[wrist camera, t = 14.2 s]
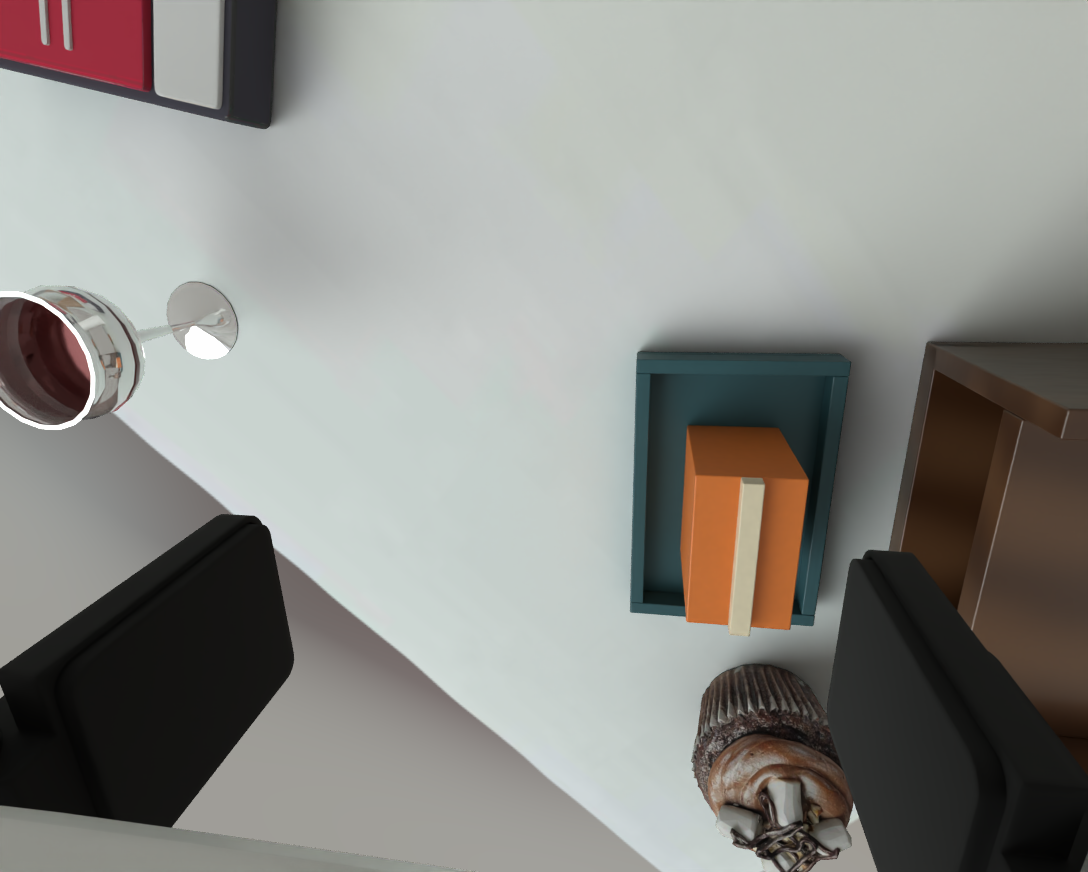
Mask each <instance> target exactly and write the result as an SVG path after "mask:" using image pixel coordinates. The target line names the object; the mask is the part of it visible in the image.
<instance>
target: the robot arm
mask: <svg viewBox="0 0 1088 872" xmlns="http://www.w3.org/2000/svg"><path fill="white" fill-rule="evenodd" d="M293 663H294V652H293V647H292V642H291V637H290V632H289V627H288V621H287V616H286V611H285V606H284V601H283V596H282V591H281V585H280V580H279V575H278V570H277V565H276V560H275V554H274V549H273V544H272V539H271V534H270V531H269V529H268V528H267V526H265V525H262V523H261V521H260V520H259V519H258V518H257V517H255V516H247V515H229V514H221V515H219V516H216V517H215V518H213V519H212V520H211V521H209V522H208V523H206V524H205V525H204V526H202V527H201V528H199V529H198V530H196V531H195V532H194V533H192V534H191V535H189V536H188V537H186V538H185V539H184V540H182V541H181V542H179V543H178V544H177V545H175V546H174V547H172V548H171V549H169V550H168V551H167V552H165V553H164V554H162V555H161V556H159V557H158V558H157V559H155V560H154V561H152V562H151V563H150V564H148V565H147V566H145V567H144V568H142V569H141V570H140V571H138V572H137V573H135V574H134V575H132V576H131V577H130V578H128V579H127V580H125V581H124V582H122V583H121V584H120V585H118V586H117V587H115V588H114V589H113V590H111V591H110V592H108V593H107V594H105V595H104V596H103V597H101V598H100V599H98V600H97V601H96V602H94V603H93V604H91V605H90V606H89V607H87V608H86V609H84V610H83V611H82V612H80V613H78V614H77V615H76V616H74V617H73V618H71V619H70V620H69V621H67V622H66V623H64V624H63V625H61V626H60V627H59V628H57V629H56V630H55V631H53V632H51V633H50V634H49V635H47V636H46V637H44V638H43V639H42V640H40V641H39V642H37V643H36V644H34V645H33V646H32V647H30V648H29V649H28V650H26V651H24V652H23V653H22V654H20V655H19V656H17V657H16V658H15V659H14V660H12V661H10V662H9V663H8V664H6V665H5V666H3V667H2V668H0V685H1V688H2V690H3V693H4V696H3V697H2V698H0V872H475V871H468V870H461V869H455V868H448V867H441V866H434V865H427V864H420V863H414V862H407V861H400V860H393V859H386V858H378V857H373V856H366V855H359V854H351V853H345V852H337V851H331V850H324V849H317V848H310V847H303V846H296V845H290V844H283V843H276V842H269V841H262V840H255V839H248V838H240V837H233V836H226V835H219V834H212V833H205V832H198V831H190V830H182V829H176V828H171V827H172V826H173V825H174V823H175V822H176V821H177V820H178V818H179V817H180V816H181V814H182V813H183V812H184V811H185V809H186V808H187V807H188V805H189V804H190V803H191V802H192V800H193V799H194V798H195V796H196V795H197V794H198V793H199V791H200V790H201V789H202V787H203V786H204V785H205V784H206V782H207V781H208V780H209V778H210V777H211V776H212V775H213V773H214V772H215V771H216V769H217V768H218V767H219V766H220V764H221V763H222V762H223V760H224V759H225V758H226V756H227V755H228V754H229V753H230V751H231V750H232V749H233V747H234V746H235V745H236V744H237V742H238V741H239V740H240V738H241V737H242V736H243V734H244V733H245V732H246V731H247V729H248V728H249V727H250V726H251V724H252V723H253V722H254V721H255V719H256V718H257V717H258V715H259V714H260V713H261V711H262V710H263V709H264V708H265V706H266V705H267V704H268V703H269V701H270V700H271V699H272V697H273V696H274V695H275V694H276V692H277V691H278V690H279V688H280V687H281V686H282V685H283V683H284V682H285V681H286V679H287V678H288V677H289V675H290V673H291V670H292V667H293ZM827 719H828V726H829V730H830V733H831V736H832V739H833V742H834V745H835V748H836V751H837V754H838V757H839V760H840V763H841V766H842V769H843V771H844V774H845V777H846V780H847V783H848V786H849V789H850V792H851V795H852V798H853V801H854V804H855V807H856V810H857V812H858V815H859V818H860V821H861V824H862V827H863V830H864V833H865V836H866V839H867V842H868V845H869V848H870V850H871V853H872V856H873V859H874V862H875V865H876V868H877V871H878V872H1088V775H1087V774H1086V773H1085V771H1084V770H1083V769H1082V767H1081V766H1080V765H1079V763H1078V762H1077V761H1076V760H1075V758H1074V757H1073V756H1072V754H1071V753H1070V752H1069V750H1068V749H1067V748H1066V747H1065V745H1064V744H1063V743H1062V741H1061V740H1060V739H1059V737H1058V736H1057V735H1056V734H1055V732H1054V731H1053V730H1052V728H1051V727H1050V726H1049V725H1048V723H1047V722H1046V721H1045V719H1044V718H1043V717H1042V715H1041V714H1040V713H1039V712H1038V710H1037V709H1036V708H1035V706H1034V705H1033V704H1032V702H1031V701H1030V700H1029V699H1028V697H1027V696H1026V695H1025V693H1024V692H1023V691H1022V690H1021V688H1020V687H1019V686H1018V684H1017V683H1016V682H1015V680H1014V679H1013V678H1012V677H1011V675H1010V674H1009V673H1008V671H1007V670H1006V669H1005V667H1004V666H1003V665H1002V664H1001V662H1000V661H999V660H998V659H997V658H996V657H995V656H994V655H993V654H992V653H991V652H989V651H987V649H986V648H985V647H984V646H983V644H982V643H981V642H980V640H979V639H978V638H977V636H976V635H975V634H974V632H973V631H972V630H971V628H970V627H969V626H968V625H967V623H966V622H965V621H964V619H963V618H962V617H961V615H960V614H959V613H958V611H957V610H956V609H955V607H954V606H953V605H952V604H951V602H950V601H949V600H948V598H947V597H946V596H945V594H944V593H943V592H942V590H941V589H940V588H939V586H938V585H937V584H936V582H935V581H934V580H933V579H932V577H931V576H930V575H929V573H928V572H927V571H926V569H925V568H924V567H923V565H922V564H921V563H920V561H919V560H918V559H917V558H916V556H915V555H914V554H913V553H911V552H897V551H879V550H868V551H867V552H865V554H864V556H863V559H853V560H852V561H851V563H850V566H849V571H848V577H847V584H846V590H845V596H844V603H843V609H842V615H841V621H840V628H839V634H838V640H837V646H836V653H835V659H834V665H833V672H832V678H831V684H830V690H829V697H828V703H827Z"/></svg>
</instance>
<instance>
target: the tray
mask: <svg viewBox="0 0 1088 872" xmlns="http://www.w3.org/2000/svg"><path fill="white" fill-rule="evenodd" d="M850 367H851V362H850V361H849V360H848V359H846V358H845V357H844V356H842V355H841V354H810V353H709V352H638V353H637V366H636V404H635V442H634V481H633V519H632V557H631V596H630V612H632V613H645V614H658V615H671V616H685V617H686V612H685V600H684V588H683V576H682V564H681V552H680V545H681V526H682V508H683V490H684V472H685V454H686V436H687V426H688V425H699V426H735V427H770V428H779V429H780V431H781V433H782V435H783V436H784V438H785V440H786V441H787V443H788V445H789V447H790V448H791V450H792V452H793V453H794V455H795V457H796V458H797V460H798V462H799V464H800V465H801V467H802V469H803V470H804V472H805V474H806V475H807V477H808V479H809V485H808V493H807V500H806V508H805V516H804V524H803V532H802V539H801V547H800V555H799V563H798V571H797V579H796V586H795V594H794V602H793V610H792V618H791V625H803V626H813V625H814V618H815V616H814V615H815V611H816V604H817V597H818V590H819V583H820V576H821V569H822V562H823V555H824V548H825V541H826V534H827V527H828V520H829V513H830V506H831V499H832V492H833V485H834V477H835V470H836V463H837V456H838V449H839V442H840V435H841V428H842V421H843V414H844V407H845V400H846V393H847V386H848V379H849V377H848V376H849V374H850Z"/></svg>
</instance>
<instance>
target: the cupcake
mask: <svg viewBox="0 0 1088 872" xmlns="http://www.w3.org/2000/svg"><path fill="white" fill-rule="evenodd" d="M691 762H692V763H693V768H692V771H694V778H697V782H698V787H699V788H700V789H701V791H702V793H703V795H704V798H705V800H706V801H707V803H708V804H709V806H710V807H711V809H712V810H713V812H714V813H715V815H716V817H717V820H716V827H717V829H718V831H719V832H720V834H722V835H723V836H724V837H727V838H730V839H732V840H733V843H732V844H733V845H735V846H736V847H738V848H743V849H750V850H752V851H754V852H756V853H755V854H756V855H757V857H760V858H761V861H762V866H763V869H764V870H765V871H766V872H808V871H810V870H811V868H812V867H813V866H814V865H815V864H816V862H818V861H820V860H829V859H837V857H838V855H839V852H841V851H843V850H845V849H847V848H850V847H851V846H852V843H851V836H850V835H849V833H848V831H847V830H846V827H847V825H848V823H849V820H850V815H851V812H852V808H853V798H852V795H851V792H850V789H849V786H848V783H847V780H846V777H845V774H844V771H843V769H842V766H841V763H840V760H839V757H838V754H837V751H836V748H835V745H834V742H833V739H832V736H831V733H830V730H829V726H828V719H827V715H826V713H825V711H824V710H823V708H822V707H821V705H820V704H819V702H818V700H817V699H816V697H815V695H814V694H813V692H812V691H811V689H810V688H809V686H808V685H807V684H805V683H803V682H802V681H801V680H800V679H799V678H798V677H797V676H796V675H794V674H793V673H791V672H789V671H787V670H784V669H780V668H777V667H774V666H771V665H757V664H752V665H743V666H740V667H738V668H735V669H732V670H728V671H726V672H724V673H722V674H720V675H719V676H718V677H716V678H715V679H714V680H713V681H712V682H711V684H710V687H709V688H708V689H706V692H705V693H704V694H703V697H702V702H701V711H700V717H699V725H698V733H697V736H696V739H695V743H694V749H693V755H692V759H691ZM799 868H800V869H799ZM797 869H799V870H798V871H797Z"/></svg>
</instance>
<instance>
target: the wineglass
mask: <svg viewBox="0 0 1088 872" xmlns="http://www.w3.org/2000/svg"><path fill="white" fill-rule="evenodd" d="M167 319H168V324H169V325H165V326H159V327H154V328H148V329H142V330H137V331H136V329H135V327H134V325H133V324H132V322H131V321H130V320H129V319H128V318H127V316H126V315H125V314H124V313H123V312H122V311H121V309H120V308H119V307H117V306H116V305H115V304H113V303H112V302H110V301H109V300H108V299H106V298H105V297H103V296H101V295H98V294H95V293H93V292H90V291H87V290H84V289H81V288H77V287H74V286H38V287H35V288H33V289H30V290H28V291H25V292H23V293H22V292H0V406H1V407H2V408H3V409H4V410H6V411H7V412H8V413H10V414H11V415H13V416H14V417H16V418H17V419H19V420H20V421H22V422H25V423H27V424H30V425H32V426H35V427H38V428H40V429H56V430H60V429H63V428H66V427H69V426H72V425H75V424H76V423H78V421H80V420H81V419H82V420H84V419H92V418H96V417H99V416H102V415H105V414H108V413H111V412H113V411H116V410H118V409H119V408H120V407H121V406H122V405H123V404H125V403H126V402H127V401H128V400H129V399H130V398H131V397H132V396H133V394H134V393H135V392H136V391H137V390H138V388H139V386H140V383H141V381H142V379H143V377H144V369H145V356H144V351H143V347H142V343H143V342H146V341H149V340H152V339H156V338H159V337H162V336H165V335H168V334H171V333H173V335H174V337H175V339H176V340H177V341H178V342H179V344H180V345H181V346H182V347H183V348H184V349H186V350H187V351H188V352H190V353H191V354H193V355H195V356H198V357H201V358H203V359H215V358H218V357H221V356H224V355H225V354H226V353H227V352H229V351H230V350H231V349H232V347H233V345H234V343H235V341H236V336H237V322H236V316H235V314H234V312H233V310H232V308H231V305H230V304H229V302H228V301H227V300H226V299H225V298H224V296H223V295H222V294H221V293H219V292H218V291H217V290H215V289H214V288H213V287H211V286H208V285H205V284H203V283H195V282H189V283H186V284H184V285H181V286H179V287H178V288H177V289H176V290H175V291H174V292H173V293H172V294H171V296H170V299H169V301H168V304H167Z"/></svg>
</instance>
